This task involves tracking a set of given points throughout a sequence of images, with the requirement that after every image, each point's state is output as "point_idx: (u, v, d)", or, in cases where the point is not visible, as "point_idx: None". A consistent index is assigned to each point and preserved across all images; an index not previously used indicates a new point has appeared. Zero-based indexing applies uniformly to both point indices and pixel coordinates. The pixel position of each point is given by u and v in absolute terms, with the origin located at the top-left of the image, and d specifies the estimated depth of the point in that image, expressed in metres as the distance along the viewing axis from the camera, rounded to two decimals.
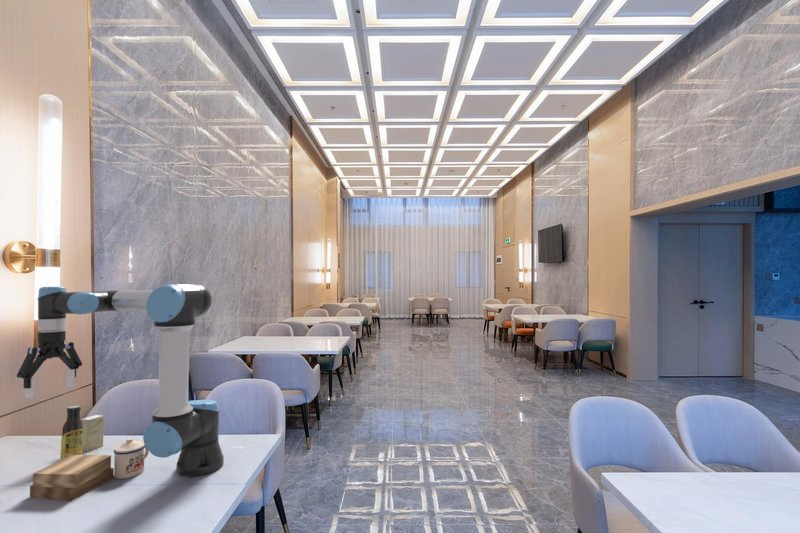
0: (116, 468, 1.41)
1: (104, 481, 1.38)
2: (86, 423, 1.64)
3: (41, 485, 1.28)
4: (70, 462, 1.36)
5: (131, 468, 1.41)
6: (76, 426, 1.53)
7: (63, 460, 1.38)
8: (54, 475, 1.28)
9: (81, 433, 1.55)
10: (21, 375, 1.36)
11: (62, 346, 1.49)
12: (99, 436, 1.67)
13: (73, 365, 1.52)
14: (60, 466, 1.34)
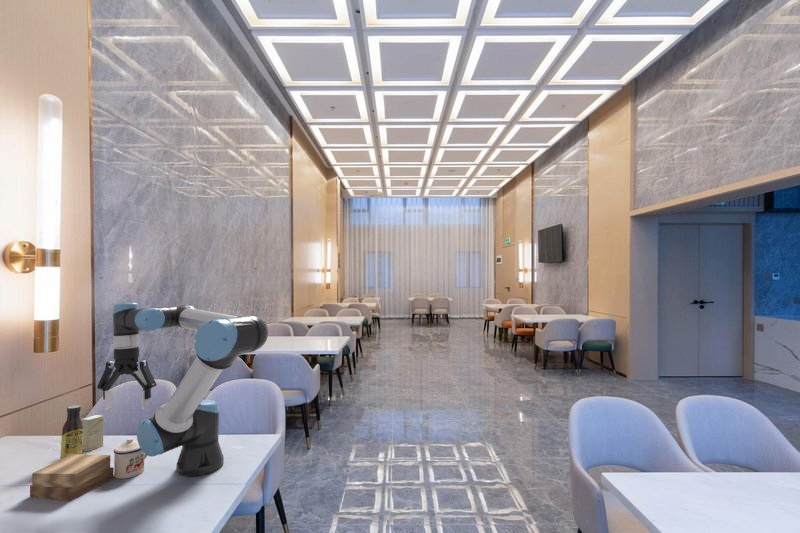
0: (116, 468, 1.41)
1: (104, 481, 1.38)
2: (86, 423, 1.64)
3: (40, 485, 1.28)
4: (69, 462, 1.36)
5: (131, 468, 1.41)
6: (76, 426, 1.53)
7: (62, 460, 1.38)
8: (53, 475, 1.28)
9: (81, 433, 1.55)
10: None
11: (131, 364, 1.45)
12: (99, 436, 1.67)
13: (142, 386, 1.45)
14: (60, 465, 1.34)
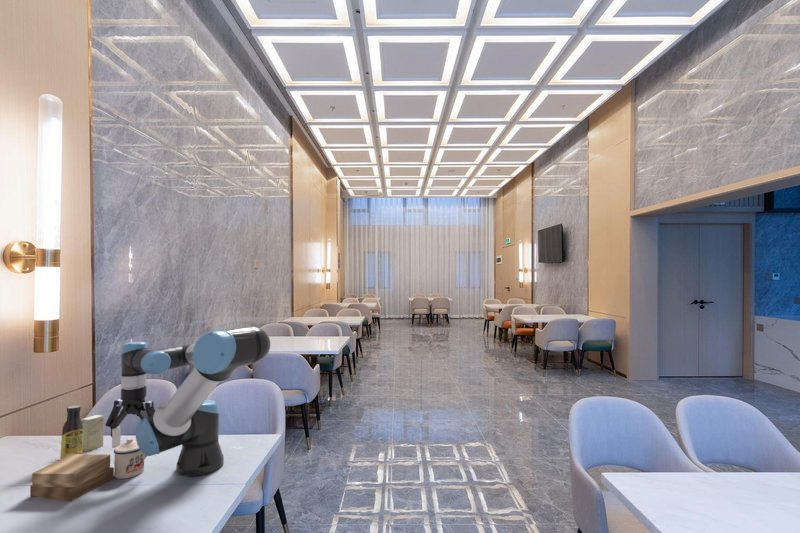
0: (116, 468, 1.41)
1: (104, 481, 1.38)
2: (86, 423, 1.64)
3: (40, 485, 1.28)
4: (69, 462, 1.36)
5: (131, 468, 1.41)
6: (76, 426, 1.53)
7: (62, 460, 1.38)
8: (53, 475, 1.28)
9: (81, 433, 1.55)
10: None
11: (138, 404, 1.45)
12: (99, 436, 1.67)
13: None
14: (60, 465, 1.34)
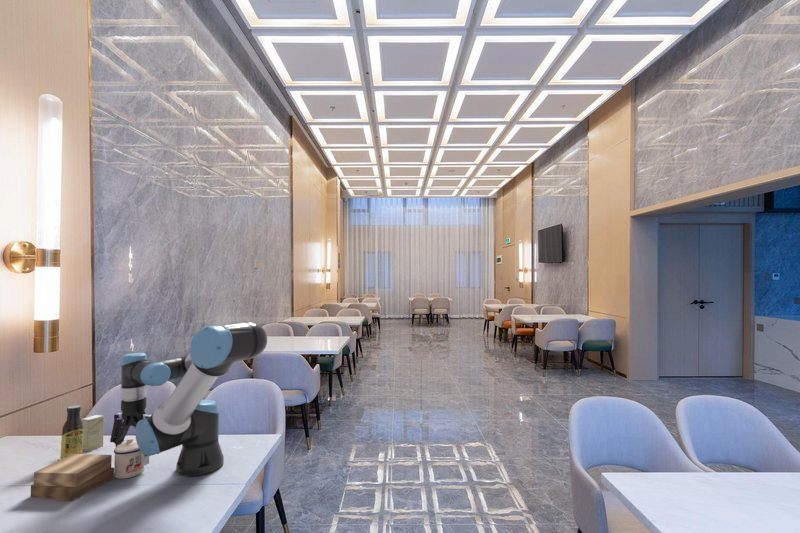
0: (116, 468, 1.41)
1: (105, 481, 1.38)
2: (86, 423, 1.64)
3: (41, 484, 1.29)
4: (70, 461, 1.37)
5: (131, 468, 1.41)
6: (76, 426, 1.53)
7: (64, 459, 1.38)
8: (54, 474, 1.28)
9: (81, 433, 1.55)
10: None
11: (138, 416, 1.45)
12: (99, 436, 1.67)
13: None
14: (61, 465, 1.34)
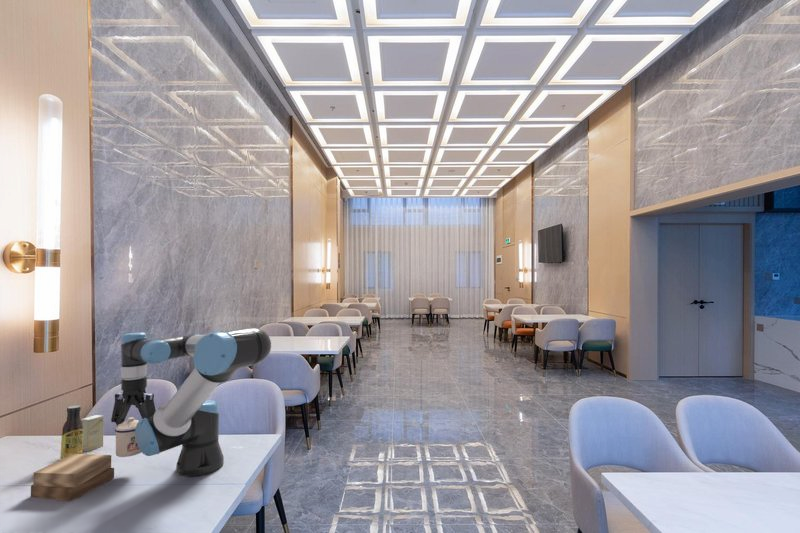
0: (117, 446, 1.41)
1: (105, 481, 1.38)
2: (86, 423, 1.64)
3: (41, 484, 1.29)
4: (70, 461, 1.37)
5: (132, 446, 1.41)
6: (76, 426, 1.53)
7: (64, 459, 1.38)
8: (54, 474, 1.28)
9: (81, 433, 1.55)
10: None
11: (138, 395, 1.45)
12: (99, 436, 1.67)
13: None
14: (61, 465, 1.34)
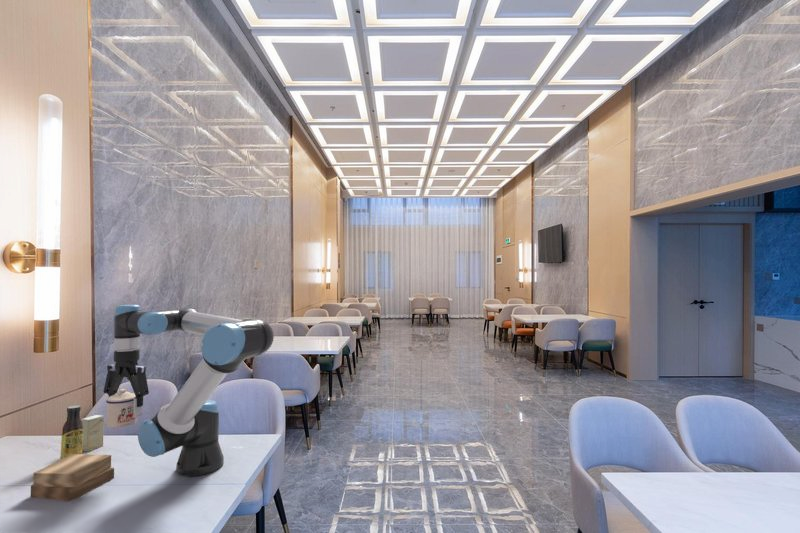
0: (108, 417, 1.40)
1: (105, 481, 1.38)
2: (86, 423, 1.64)
3: (41, 484, 1.29)
4: (70, 462, 1.37)
5: (123, 417, 1.41)
6: (76, 426, 1.53)
7: (64, 459, 1.38)
8: (54, 475, 1.28)
9: (81, 433, 1.55)
10: None
11: (130, 367, 1.44)
12: (99, 436, 1.67)
13: (135, 393, 1.43)
14: (61, 465, 1.34)
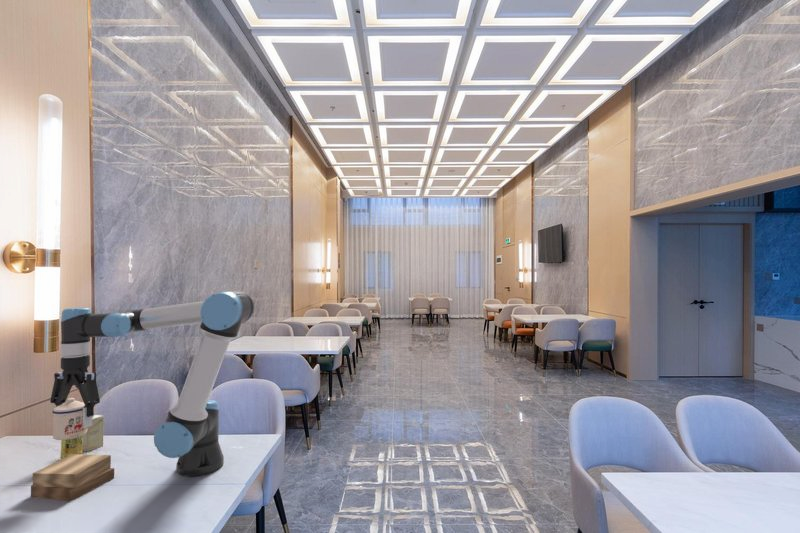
0: (54, 429, 1.30)
1: (105, 481, 1.38)
2: None
3: (41, 485, 1.29)
4: (70, 462, 1.36)
5: (71, 428, 1.31)
6: None
7: (63, 460, 1.38)
8: (54, 475, 1.28)
9: None
10: None
11: (79, 374, 1.35)
12: (99, 436, 1.67)
13: (84, 402, 1.34)
14: (60, 465, 1.34)
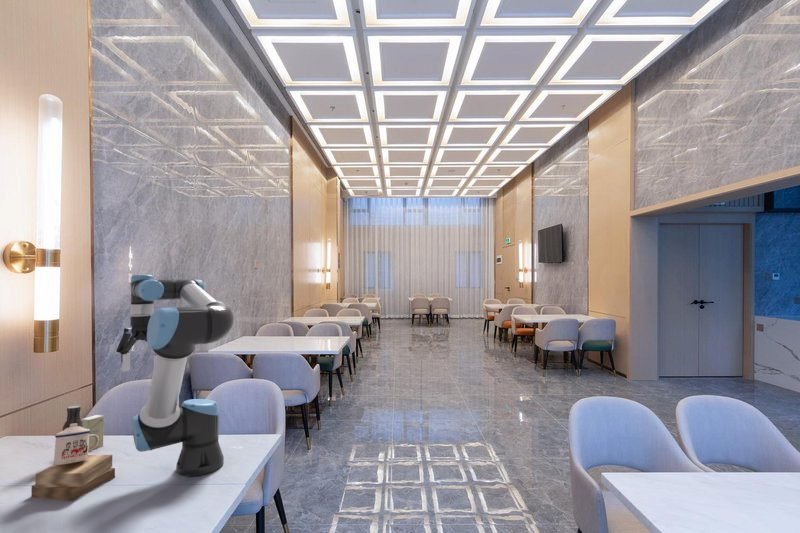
0: None
1: (105, 481, 1.38)
2: (86, 423, 1.64)
3: (44, 485, 1.28)
4: None
5: (67, 453, 1.32)
6: None
7: None
8: (58, 475, 1.28)
9: None
10: None
11: (146, 331, 1.58)
12: (99, 436, 1.67)
13: None
14: (62, 466, 1.34)
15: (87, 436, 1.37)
